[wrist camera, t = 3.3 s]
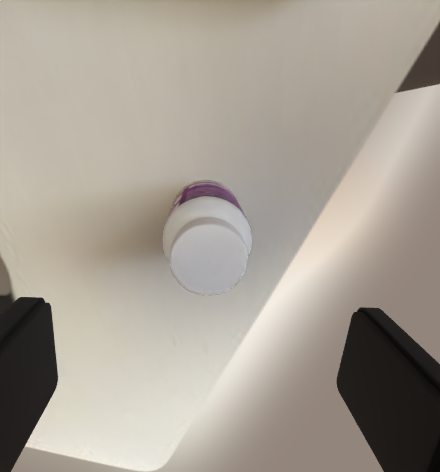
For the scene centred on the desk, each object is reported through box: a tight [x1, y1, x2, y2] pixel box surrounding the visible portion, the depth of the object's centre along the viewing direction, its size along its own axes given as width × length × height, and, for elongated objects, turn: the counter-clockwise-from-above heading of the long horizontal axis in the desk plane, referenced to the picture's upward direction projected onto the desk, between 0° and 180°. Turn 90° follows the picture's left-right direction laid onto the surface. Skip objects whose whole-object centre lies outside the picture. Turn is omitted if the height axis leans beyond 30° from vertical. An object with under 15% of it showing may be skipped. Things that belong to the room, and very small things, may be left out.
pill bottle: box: [162, 180, 252, 295], centre depth 20 cm, size 5×5×10 cm
